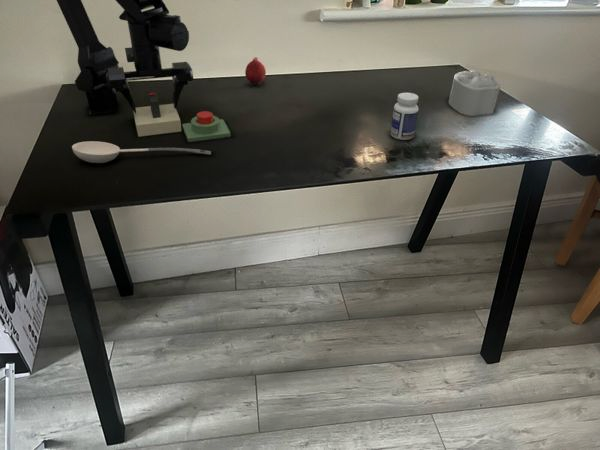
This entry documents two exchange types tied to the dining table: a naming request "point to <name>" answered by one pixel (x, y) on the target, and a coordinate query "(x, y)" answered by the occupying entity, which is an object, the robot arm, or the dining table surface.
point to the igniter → (205, 130)
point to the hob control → (157, 120)
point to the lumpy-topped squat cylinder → (474, 93)
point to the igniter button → (205, 117)
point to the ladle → (115, 151)
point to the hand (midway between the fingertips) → (155, 110)
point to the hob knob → (154, 105)
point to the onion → (255, 71)
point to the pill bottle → (404, 116)
